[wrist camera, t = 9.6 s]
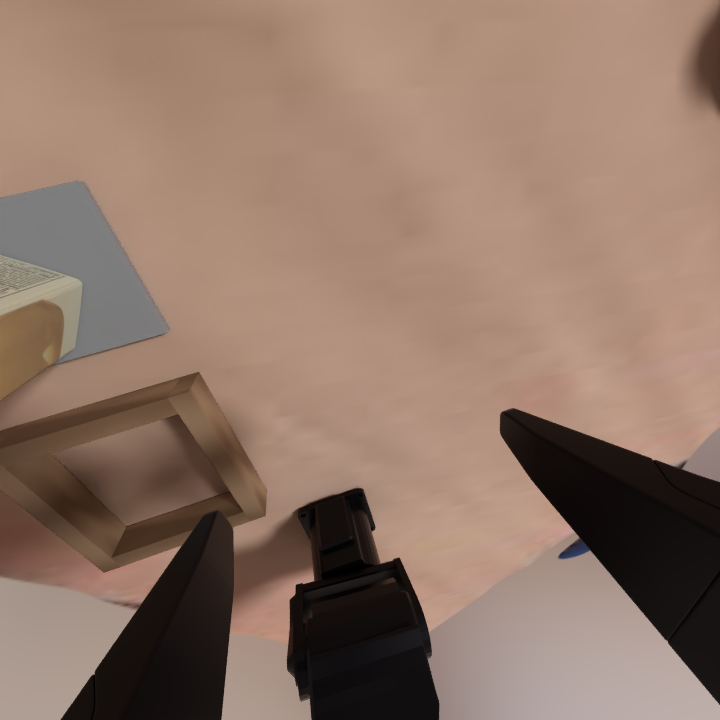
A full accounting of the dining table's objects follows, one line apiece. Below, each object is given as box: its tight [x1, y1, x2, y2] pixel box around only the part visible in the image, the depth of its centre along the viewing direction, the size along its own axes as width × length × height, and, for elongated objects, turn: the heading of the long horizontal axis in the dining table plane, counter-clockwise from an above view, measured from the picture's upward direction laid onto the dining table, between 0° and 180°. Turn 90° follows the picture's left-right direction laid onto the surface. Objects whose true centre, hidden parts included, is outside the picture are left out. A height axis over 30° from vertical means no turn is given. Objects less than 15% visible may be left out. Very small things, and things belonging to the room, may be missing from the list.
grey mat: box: [0, 181, 170, 366], centre depth 16 cm, size 8×12×1 cm, turn 103°
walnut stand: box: [0, 372, 267, 573], centre depth 21 cm, size 12×12×2 cm
